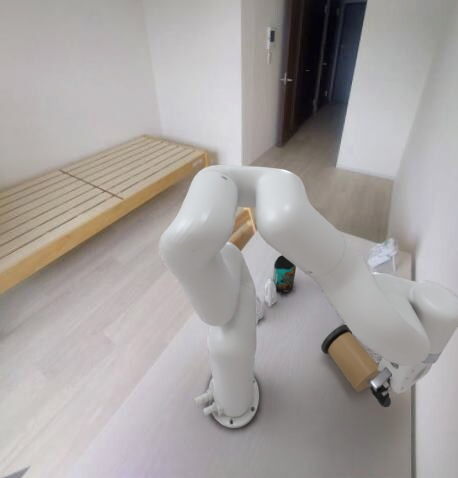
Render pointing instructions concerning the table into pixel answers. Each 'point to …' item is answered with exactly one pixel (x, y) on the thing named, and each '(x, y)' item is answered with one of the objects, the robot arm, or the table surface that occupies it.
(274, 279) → the beverage can
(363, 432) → the table surface
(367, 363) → the towel holder
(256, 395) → the robot arm
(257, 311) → the shaker set
